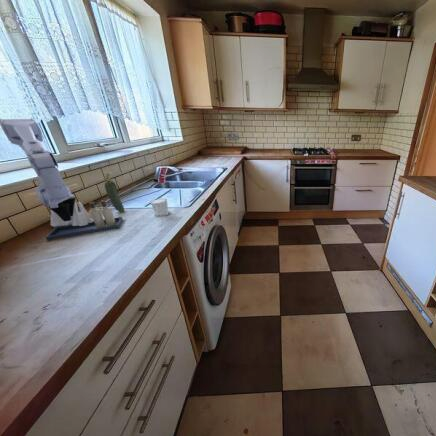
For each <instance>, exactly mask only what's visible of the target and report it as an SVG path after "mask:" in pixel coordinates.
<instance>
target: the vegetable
mask: <svg viewBox="0 0 436 436" xmlns="http://www.w3.org/2000/svg"><path fill="white" fill-rule="evenodd" d="M117 187H118V186H117V184H116V182H114V181H113V180H112V177H111V174H110V172H108V171H107V172H106V174H105V182H104V189H105V192H106V194H107V197H108V198H109V200H110V203H111V204H112V207H113V208H114V209H115V211H117V212H119V213H123V212H124V211H125V207H124V205H123V203H122V201H121V199H120V197H119V195H118V188H117Z"/></svg>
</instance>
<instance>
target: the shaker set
mask: <svg viewBox="0 0 436 436" xmlns="http://www.w3.org/2000/svg"><path fill="white" fill-rule="evenodd" d="M92 221H93V220H92V219H91V216H90V215H89V213H88V212H87V210H86V208H85V206H84V205H83V204H82V202H81V201H78V204H77V202H75V203H74V210H73V221H72V220H70V221H63V220H62V219H61V218H60V217H59V216H58V215H57V214H56V213H55V212H54V211H52V210H51V211H50V225H49V226H51V227H53V226H57V227H59V226H68V225H69V224H70V223H71V222H73V223H72V224H70V225H73V226H76V225H79V226H83V225H87V224H88V223H92Z"/></svg>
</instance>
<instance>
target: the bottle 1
mask: <svg viewBox="0 0 436 436" xmlns="http://www.w3.org/2000/svg"><path fill="white" fill-rule="evenodd" d="M89 206H90V210H89V213H90V217H91V218H92V221H94V223H95V225H96V228H101V227H106V224H105V222H104V220H105V219H104V216H103V214H102V211H101V209H100V208H98V207H97V206H96V205H95V202H94V201H89Z"/></svg>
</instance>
